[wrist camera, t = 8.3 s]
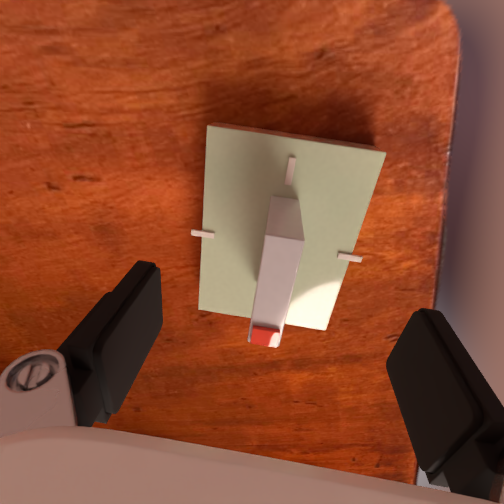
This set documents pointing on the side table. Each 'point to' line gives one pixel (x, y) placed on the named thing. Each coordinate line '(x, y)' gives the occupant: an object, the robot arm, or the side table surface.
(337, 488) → the robot arm
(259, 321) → the tap handle
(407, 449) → the side table surface
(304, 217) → the panel
